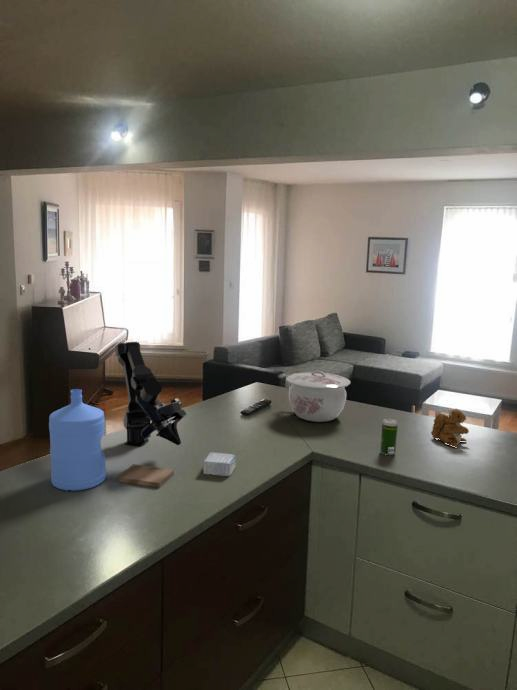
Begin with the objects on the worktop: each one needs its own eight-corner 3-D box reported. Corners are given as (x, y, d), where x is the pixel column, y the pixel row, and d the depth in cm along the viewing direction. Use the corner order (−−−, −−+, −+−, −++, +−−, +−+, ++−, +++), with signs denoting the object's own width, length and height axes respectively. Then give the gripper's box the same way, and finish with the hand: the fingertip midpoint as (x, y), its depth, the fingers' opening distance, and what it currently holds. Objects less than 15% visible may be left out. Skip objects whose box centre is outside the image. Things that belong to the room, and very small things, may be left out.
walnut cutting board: (117, 481, 158) (117, 476, 158) (133, 468, 168) (133, 464, 168) (159, 487, 155) (159, 483, 155) (173, 474, 164) (173, 470, 164)
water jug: (75, 497, 148) (72, 401, 143) (40, 483, 156) (35, 391, 151) (117, 477, 161) (115, 389, 156) (82, 465, 169) (80, 381, 164)
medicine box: (202, 474, 165) (229, 477, 164) (203, 460, 164) (230, 463, 163) (210, 464, 173) (235, 467, 171) (210, 451, 172) (236, 454, 171)
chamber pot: (353, 428, 212) (356, 379, 209) (285, 426, 213) (287, 377, 209) (343, 408, 240) (345, 364, 236) (283, 406, 240) (284, 362, 237)
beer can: (398, 455, 185) (401, 422, 183) (385, 457, 184) (387, 424, 182) (389, 449, 190) (392, 418, 188) (377, 451, 189) (379, 419, 186)
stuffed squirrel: (458, 449, 193) (461, 415, 190) (423, 439, 203) (426, 406, 201) (471, 443, 199) (474, 410, 197) (437, 433, 209) (440, 401, 207)
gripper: (148, 399, 162) (178, 439, 159) (182, 386, 179) (209, 422, 176) (128, 419, 167) (157, 459, 164) (162, 404, 183) (189, 440, 181)
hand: (179, 444), depth 171 cm, fingers closed
